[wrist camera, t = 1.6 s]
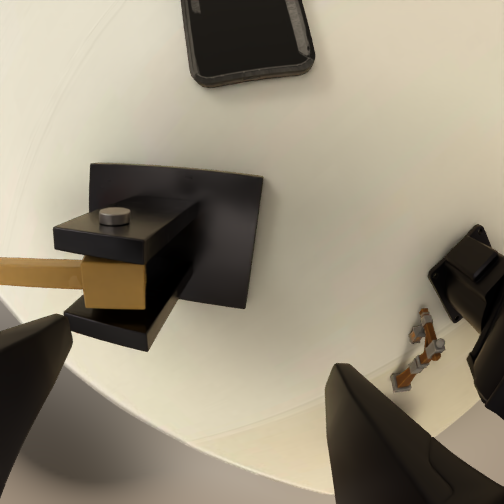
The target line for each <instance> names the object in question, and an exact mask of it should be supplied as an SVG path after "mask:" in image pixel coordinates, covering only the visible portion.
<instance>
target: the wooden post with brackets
mask: <svg viewBox="0 0 504 504" xmlns="http://www.w3.org/2000/svg"><path fill="white" fill-rule="evenodd" d="M419 314H420V317H421V323H422V325H418V326H416V327H412V328H413V331H412V332H411V334H409V338H410V343H412V344H414V343H420V340H421V338H422V337H425V348H424V352H423V354H421V355H417V357H416V358H414V360H413V361H412V362H411V363H410V364H409V367H408V368H407V369H406V370H405V371H404V372H402V373H400V374H393V375H392V376H391V380H392V386H393V391H394V393H396V392H403V391H409V390H410V389H411V383H410V382H411V381H412V380H413V378H414V377H415V375H416V374H417V373H420V372H421V371H422V370H423V369H424V368H426V366H428V365H429V362H430V361H431V360H432V361H437V360H439V359H440V357H441V353H442V352H443V351H444V350H445V346H444V345H445V341H444V339H442V338H440V339H438V340H437V338H436V334H435V331H434V328H433V324H432V323H433V320H432V317H431V315H429V312H428V308H423V309H421V311H420V312H419ZM425 333H426V334H425Z"/></svg>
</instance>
